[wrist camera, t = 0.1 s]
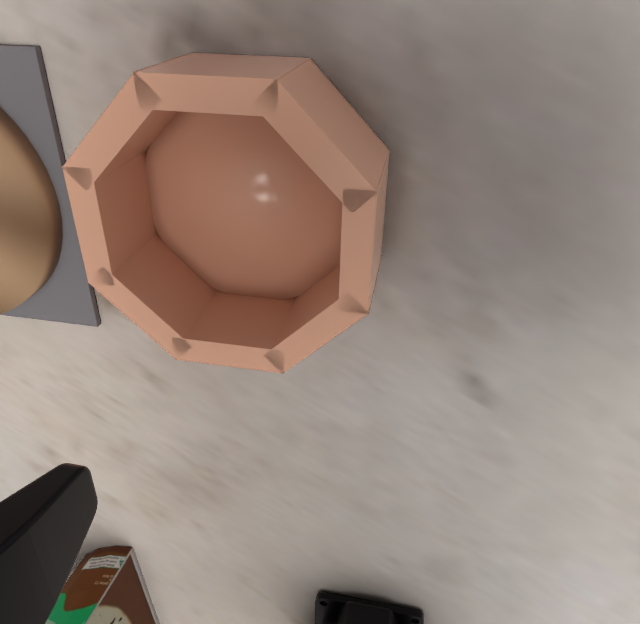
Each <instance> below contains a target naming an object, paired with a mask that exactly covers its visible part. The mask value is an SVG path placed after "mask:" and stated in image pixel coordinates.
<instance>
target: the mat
mask: <svg viewBox="0 0 640 624" xmlns="http://www.w3.org/2000/svg"><path fill="white" fill-rule="evenodd" d="M0 107H1V108H2V109H3V110H4V111H5V112H6V113H7V114H8V115H9V116H10V117H11V118H12V119H13V120H14V122H15V123H16V124H17V125H18V126H19V128H20V129H21V130H22V131H23V133H24V134H25V135H26V136H27V138H28V139H29V141H30V142H31V144H32V145H33V147H34V148H35V150H36V151H37V153H38V154H39V156H40V158H41V160H42V162H43V164H44V165H45V167H46V169H47V171H48V174H49V176H50V178H51V181H52V183H53V186H54V188H55V191H56V195H57V198H58V201H59V205H60V211H61V216H62V227H63V239H62V250H61V253H60V257H59V261H58V264H57V266H56V268H55V270H54V272H53V274H52V275H51V277H50V278H49V280H48V281H47V283H46V284H44V285H43V286H42V287H41V288H40V289H39V290H38V291H37V292H36V293H34V294H33V295H32V296H31V297H29V298H28V299H27V300H26V301H24V302H23V303H22V304H20V305H18V306H17V307H15V308H14V309H12V310H10V311H7V312H5V313H2V314H0V315H7V316H15V317H24V318H32V319H40V320H48V321H56V322H64V323H72V324H80V325H88V326H96V327H98V326H99V325H100V324H101V321H100V317H99V312H98V308H97V303H96V299H95V294H94V290H93V286H92V285H90V284H89V283H88V280H87V275H86V271H85V267H84V262H83V258H82V253H81V249H80V244H79V240H78V235H77V231H76V227H75V222H74V218H73V213H72V209H71V204H70V200H69V195H68V191H67V187H66V182H65V178H64V173H63V169H62V166H64V164H65V158H64V154H63V149H62V145H61V140H60V136H59V131H58V127H57V122H56V118H55V113H54V109H53V104H52V100H51V95H50V91H49V86H48V81H47V77H46V72H45V68H44V63H43V59H42V54H41V50H40V46H26V45H2V44H0Z"/></svg>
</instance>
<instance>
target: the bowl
mask: <svg viewBox="0 0 640 624" xmlns="http://www.w3.org/2000/svg"><path fill="white" fill-rule="evenodd" d="M389 153H390V150H389V149H388V148H387V147H386V146H385V145H384V143H383V142H382V141H381V140H380V139H379V138H378V136H377V135H376V134H375V133H374V132H373V131H372V129H371V128H370V127H369V126H368V125H367V124H366V122H365V121H364V120H363V119H362V118H361V117H360V116H359V114H358V113H357V112H356V111H355V110H354V109H353V107H352V106H351V105H350V104H349V103H348V102H347V100H346V99H345V98H344V97H343V96H342V95H341V93H340V92H339V91H338V90H337V89H336V88H335V86H334V85H333V84H332V83H331V82H330V81H329V79H328V78H327V77H326V76H325V75H324V74H323V72H322V71H321V70H320V69H319V68H318V67H317V66H316V64H315V63H314V62H313V61H312V60H311V58H310V57H309V58H303V57H280V56H257V55H234V54H211V53H195V52H193V53H190V54H187V55H184V56H181V57H178V58H175V59H172V60H169V61H165V62H162V63H159V64H156V65H153V66H150V67H147V68H144V69H140V70H137V71H135V72H133V74H132V75H131V77H130V78H129V79H128V81H127V82H126V83H125V85H124V86H123V87H122V89H121V90H120V91H119V93H118V94H117V95H116V97H115V98H114V99H113V101H112V102H111V103H110V105H109V106H108V107H107V109H106V110H105V111H104V113H103V114H102V115H101V117H100V118H99V119H98V121H97V122H96V123H95V125H94V126H93V127H92V129H91V130H90V131H89V132H88V134H87V135H86V136H85V138H84V139H83V140H82V142H81V143H80V144H79V146H78V147H77V148H76V150H75V151H74V152H73V154H72V155H71V156H70V158H69V159H68V160H67V162H66V163H65V164H64V166H62V169H63V173H64V178H65V182H66V187H67V191H68V195H69V200H70V204H71V209H72V213H73V218H74V222H75V227H76V231H77V235H78V240H79V244H80V249H81V253H82V258H83V262H84V267H85V271H86V275H87V280H88V283H89V284H90V285H92V286H93V287H94V288H95V289H96V290H97V291H98V292H100V293H101V294H102V295H103V296H104V297H105V298H106V299H108V300H109V301H110V302H111V303H112V304H113V305H114V306H116V307H117V308H118V309H119V310H120V311H121V312H122V313H123V314H125V315H126V316H127V317H128V318H129V319H130V320H131V321H133V322H134V323H135V324H136V325H137V326H138V327H139V328H141V329H142V330H143V331H144V332H145V333H146V334H147V335H148V336H150V337H151V338H152V339H153V340H154V341H155V342H156V343H158V344H159V345H160V346H161V347H162V348H163V349H164V350H166V351H167V352H168V353H169V354H170V355H171V356H172V357H174V358H175V359H176V360H184V361H192V362H199V363H207V364H215V365H222V366H230V367H238V368H245V369H253V370H261V371H268V372H276V373H282V374H283V373H284V372H286V371H287V370H289V369H290V368H292V367H293V366H294V365H296V364H297V363H299V362H300V361H301V360H303V359H304V358H306V357H307V356H309V355H310V354H311V353H313V352H314V351H316V350H317V349H319V348H320V347H321V346H323V345H324V344H326V343H327V342H329V341H330V340H331V339H333V338H334V337H336V336H337V335H339V334H340V333H341V332H343V331H344V330H346V329H347V328H348V327H350V326H351V325H353V324H354V323H356V322H357V321H358V320H360V319H361V318H363V317H364V316H366V315H367V314H368V313H369V311H370V306H371V302H372V297H373V292H374V288H375V283H376V279H377V274H378V270H379V265H380V261H381V256H382V255H381V252H382V240H383V227H384V215H385V203H386V190H387V178H388V165H389Z"/></svg>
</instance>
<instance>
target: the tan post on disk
mask: <svg viewBox="0 0 640 624" xmlns="http://www.w3.org/2000/svg"><path fill="white" fill-rule="evenodd" d="M62 239H63V227H62V216H61V211H60V205H59V201H58V198H57V195H56V191H55V188H54V186H53V183H52V181H51V178H50V176H49V174H48V171H47V169H46V167H45V165H44V164H43V162H42V160H41V158H40V156H39V154H38V153H37V151H36V150H35V148H34V147H33V145H32V144H31V142H30V141H29V139H28V138H27V136H26V135H25V134H24V133H23V131H22V130H21V129H20V128H19V126H18V125H17V124H16V123H15V122H14V120H13V119H12V118H11V117H10V116H9V115H8V114H7V113H6V112H5V111H4V110H3V109H2V108H1V107H0V314H2V313H5V312H7V311H10V310H12V309H14V308H15V307H17V306H18V305H20V304H22V303H23V302H24V301H26V300H27V299H28V298H29V297H31V296H32V295H33V294H34V293H36V292H37V291H38V290H39V289H40V288H41V287H42V286H43V285H44V284H46V283H47V281H48V280H49V278H50V277H51V275H52V274H53V272H54V270H55V268H56V266H57V264H58V261H59V257H60V253H61V250H62Z"/></svg>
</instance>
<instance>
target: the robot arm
mask: <svg viewBox="0 0 640 624" xmlns="http://www.w3.org/2000/svg"><path fill="white" fill-rule="evenodd" d="M96 510H97V496H96V492H95V488H94V484H93V480H92V476H91V472H90V470H89V469H88V468H87V467H86V466H81V465H76V464H70V463H64V464H61V465H59V466H57V467H55V468H54V469H52V470H51V471H49V472H47V473H46V474H44V475H43V476H41V477H39V478H38V479H36V480H35V481H33V482H31V483H30V484H28V485H27V486H25V487H23V488H22V489H20V490H19V491H17V492H16V493H14V494H12V495H11V496H9V497H8V498H6V499H4V500H3V501H1V502H0V624H45V623H46V621H47V619H48V617H49V616H50V614H51V612H52V610H53V608H54V606H55V604H56V602H57V600H58V598H59V596H60V594H61V591H62V589H63V587H64V585H65V582H66V580H67V578H68V576H69V573H70V571H71V569H72V566H73V564H74V562H75V559H76V557H77V555H78V553H79V550H80V548H81V546H82V543H83V541H84V539H85V537H86V534H87V532H88V530H89V527H90V525H91V523H92V520H93V518H94V516H95V513H96ZM423 623H424V614H423V613H422V612H421V611H419V610H415V609H409V608H404V607H399V606H394V605H388V604H383V603H378V602H372V601H367V600H362V599H356V598H351V597H346V596H340V595H335V594H330V593H324V592H321V593H318V594H317V597H316V602H315V624H423Z"/></svg>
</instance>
